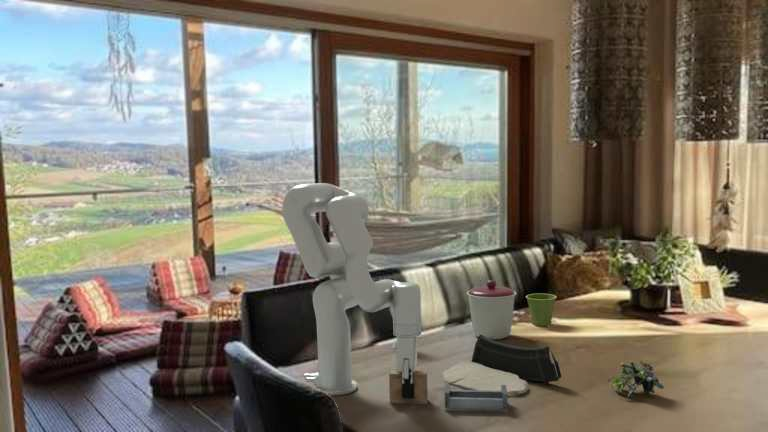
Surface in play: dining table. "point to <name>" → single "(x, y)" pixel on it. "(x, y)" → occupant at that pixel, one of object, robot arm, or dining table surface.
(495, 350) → the magazine
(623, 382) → the green leafy plant
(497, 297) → the canister
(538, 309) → the plant pot
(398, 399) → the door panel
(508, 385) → the stone tablet
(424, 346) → the dining table surface
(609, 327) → the dining table surface
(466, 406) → the grey open holder
